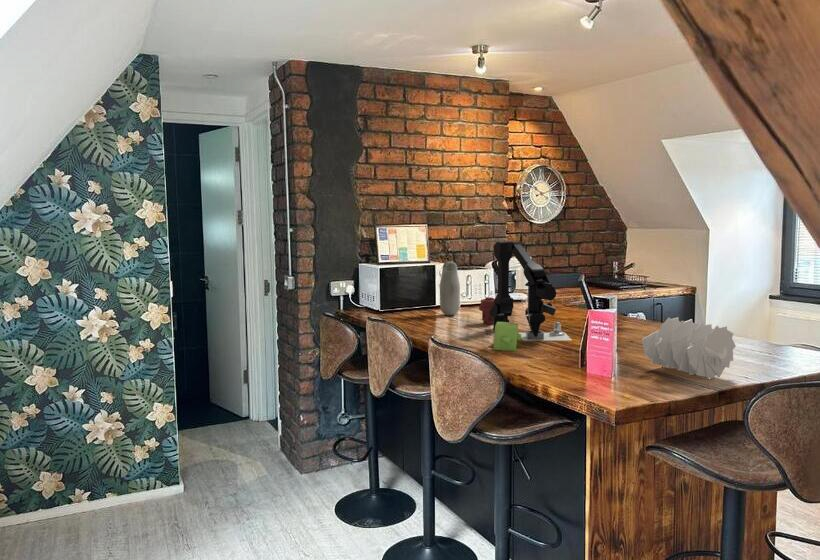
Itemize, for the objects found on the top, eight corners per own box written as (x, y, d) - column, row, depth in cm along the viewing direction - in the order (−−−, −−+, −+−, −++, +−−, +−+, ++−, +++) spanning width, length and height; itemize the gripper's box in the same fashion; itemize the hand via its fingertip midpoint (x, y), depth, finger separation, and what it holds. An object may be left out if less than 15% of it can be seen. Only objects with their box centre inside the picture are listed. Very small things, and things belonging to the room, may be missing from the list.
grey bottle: (436, 314, 338) (436, 261, 335) (454, 313, 342) (453, 260, 339) (445, 317, 329) (445, 262, 326) (463, 315, 333) (463, 261, 330)
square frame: (527, 339, 266) (527, 333, 266) (525, 336, 273) (525, 330, 273) (543, 339, 266) (543, 333, 266) (541, 336, 273) (541, 330, 272)
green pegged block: (519, 355, 243) (520, 330, 242) (492, 353, 245) (494, 328, 244) (521, 344, 261) (522, 321, 259) (496, 342, 262) (497, 319, 261)
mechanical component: (498, 321, 314) (501, 325, 304) (478, 321, 315) (479, 325, 305) (499, 296, 313) (501, 299, 303) (478, 296, 313) (480, 299, 303)
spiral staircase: (667, 375, 224) (732, 389, 202) (633, 359, 216) (697, 371, 194) (682, 326, 227) (748, 334, 204) (649, 308, 219) (714, 313, 197)
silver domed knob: (550, 335, 274) (550, 323, 273) (548, 333, 280) (548, 321, 280) (566, 335, 273) (566, 323, 273) (563, 333, 280) (563, 321, 279)
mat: (522, 341, 265) (522, 340, 265) (518, 334, 282) (518, 332, 282) (572, 341, 264) (572, 340, 264) (565, 334, 281) (565, 332, 280)
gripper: (558, 300, 258) (557, 339, 260) (551, 294, 277) (551, 331, 278) (530, 300, 259) (529, 339, 260) (525, 294, 277) (524, 331, 279)
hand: (534, 335), depth 269 cm, fingers closed on square frame, 7 cm apart
